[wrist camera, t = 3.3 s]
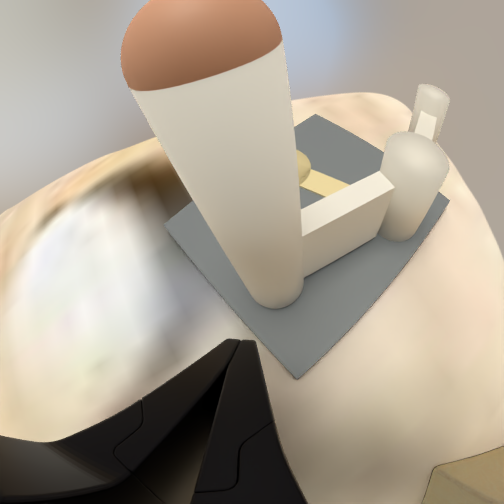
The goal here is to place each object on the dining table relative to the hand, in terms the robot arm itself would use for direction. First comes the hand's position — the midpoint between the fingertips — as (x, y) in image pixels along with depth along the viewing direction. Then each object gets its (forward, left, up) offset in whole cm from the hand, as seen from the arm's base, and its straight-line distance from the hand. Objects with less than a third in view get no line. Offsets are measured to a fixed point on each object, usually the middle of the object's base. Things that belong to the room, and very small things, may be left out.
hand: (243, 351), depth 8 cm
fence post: (+6, +3, -7) cm, 9 cm away
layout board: (+9, +5, -8) cm, 13 cm away
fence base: (+15, +2, -8) cm, 17 cm away
